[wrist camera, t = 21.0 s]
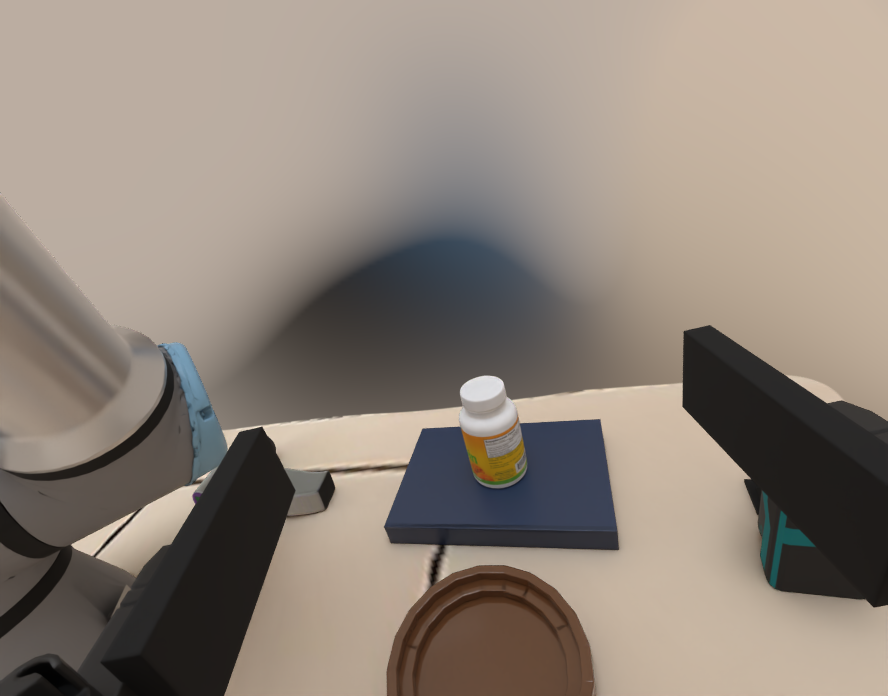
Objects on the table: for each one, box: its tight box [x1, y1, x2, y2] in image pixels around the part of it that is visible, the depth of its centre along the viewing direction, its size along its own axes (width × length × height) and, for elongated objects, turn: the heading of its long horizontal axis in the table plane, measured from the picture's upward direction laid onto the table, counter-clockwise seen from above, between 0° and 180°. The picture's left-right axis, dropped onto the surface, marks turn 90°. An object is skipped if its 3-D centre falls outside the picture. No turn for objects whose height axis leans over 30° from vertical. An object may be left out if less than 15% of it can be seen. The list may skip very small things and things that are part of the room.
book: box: [384, 419, 619, 550], centre depth 43 cm, size 20×14×2 cm
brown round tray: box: [387, 565, 596, 696], centre depth 29 cm, size 13×13×2 cm
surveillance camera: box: [744, 479, 865, 599], centre depth 30 cm, size 6×12×10 cm
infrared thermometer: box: [193, 436, 335, 516], centre depth 52 cm, size 5×12×15 cm
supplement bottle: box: [459, 376, 527, 488], centre depth 41 cm, size 5×5×10 cm
